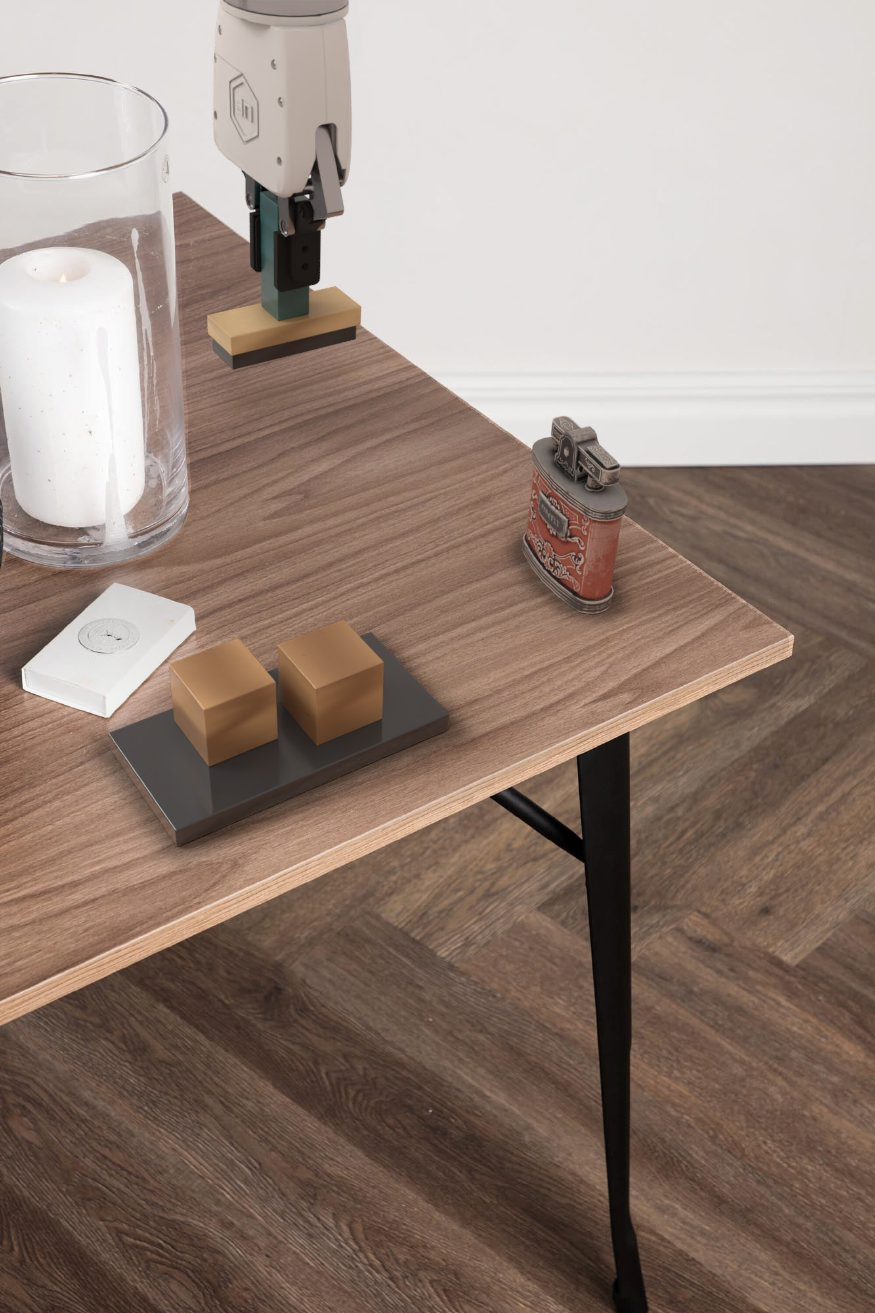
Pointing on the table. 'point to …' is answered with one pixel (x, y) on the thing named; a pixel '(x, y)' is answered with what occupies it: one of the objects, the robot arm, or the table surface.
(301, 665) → the brown cube
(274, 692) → the tan wooden cube
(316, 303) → the rubber stamp
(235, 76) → the robot arm
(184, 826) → the board
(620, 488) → the lighter
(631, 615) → the table surface
